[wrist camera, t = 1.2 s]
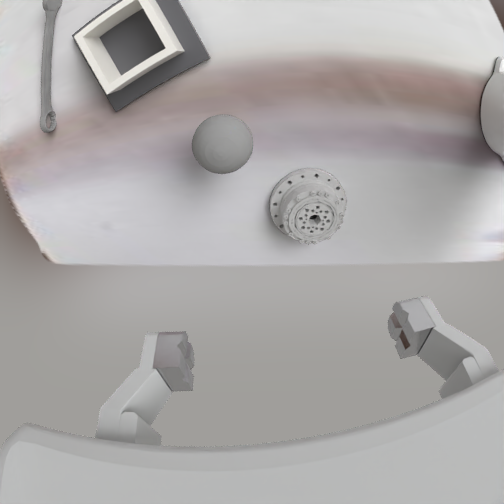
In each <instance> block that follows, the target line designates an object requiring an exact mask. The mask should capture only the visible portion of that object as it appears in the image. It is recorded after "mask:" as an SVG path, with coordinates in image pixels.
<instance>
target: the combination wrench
mask: <svg viewBox="0 0 504 504" xmlns="http://www.w3.org/2000/svg"><path fill="white" fill-rule="evenodd" d="M61 4H62V0H43V8H44V10H45V11H46V23H45V31H44V41H43V53H42V70H41V118H40V127H41V129H42V131H43V132H45V133H47V132H51V131H53V130H54V129H55V127H56V123H57V122H56V121H55V112H54V111H53V109H52V106H51V96H50V80H51V54H52V41H53V31H54V22H55V17H56V14H57V11H58V9H59V7H60V6H61ZM47 114H49V116H50V118H51V125H50V128H49V129H48V127H47V125H46V117H47Z"/></svg>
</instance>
